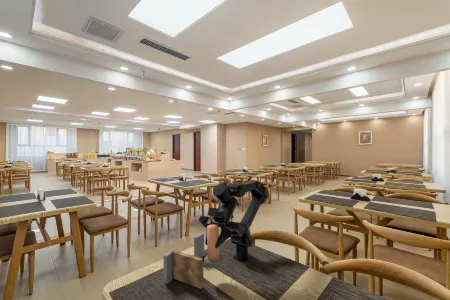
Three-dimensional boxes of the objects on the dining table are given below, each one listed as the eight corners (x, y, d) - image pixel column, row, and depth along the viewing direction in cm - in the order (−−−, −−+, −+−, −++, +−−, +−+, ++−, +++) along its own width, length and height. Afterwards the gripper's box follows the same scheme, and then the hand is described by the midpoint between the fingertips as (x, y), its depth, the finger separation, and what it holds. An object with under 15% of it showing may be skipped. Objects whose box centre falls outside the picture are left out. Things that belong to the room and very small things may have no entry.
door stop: (211, 256, 85) (210, 222, 85) (226, 260, 82) (225, 225, 82) (200, 264, 79) (199, 228, 79) (216, 269, 76) (215, 231, 76)
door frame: (201, 254, 101) (201, 232, 101) (204, 255, 100) (204, 233, 100) (164, 282, 80) (163, 255, 80) (166, 284, 79) (166, 256, 79)
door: (168, 278, 82) (167, 252, 82) (172, 275, 84) (172, 249, 84) (199, 290, 74) (198, 261, 74) (203, 286, 77) (203, 258, 77)
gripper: (200, 196, 89) (181, 231, 80) (238, 201, 78) (221, 242, 69) (212, 210, 96) (196, 244, 87) (249, 216, 85) (235, 256, 76)
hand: (210, 246), depth 80 cm, fingers closed on door stop, 4 cm apart
